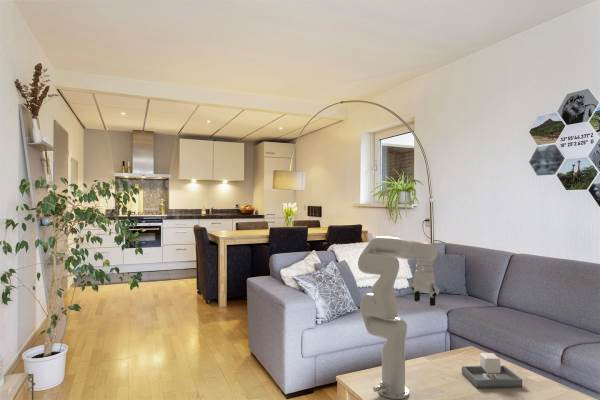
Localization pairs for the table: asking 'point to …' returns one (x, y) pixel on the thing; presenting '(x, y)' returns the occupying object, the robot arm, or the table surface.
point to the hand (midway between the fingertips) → (424, 303)
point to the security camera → (490, 365)
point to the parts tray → (505, 379)
